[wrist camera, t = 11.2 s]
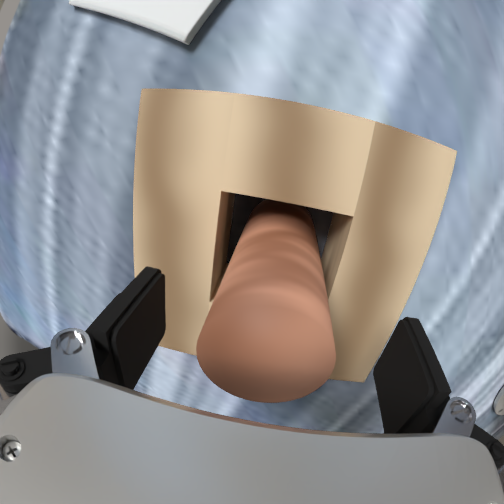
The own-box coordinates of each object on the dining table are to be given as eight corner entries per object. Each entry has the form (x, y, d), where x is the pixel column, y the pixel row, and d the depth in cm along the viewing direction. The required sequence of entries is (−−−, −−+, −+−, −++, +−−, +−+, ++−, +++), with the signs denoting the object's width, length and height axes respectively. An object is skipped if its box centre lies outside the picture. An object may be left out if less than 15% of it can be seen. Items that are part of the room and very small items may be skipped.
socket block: (419, 142, 16) (457, 151, 11) (354, 337, 23) (363, 382, 18) (177, 94, 17) (141, 88, 12) (164, 301, 24) (140, 340, 19)
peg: (320, 204, 19) (356, 319, 8) (305, 265, 21) (312, 409, 10) (252, 191, 19) (199, 291, 8) (242, 253, 21) (194, 388, 10)
